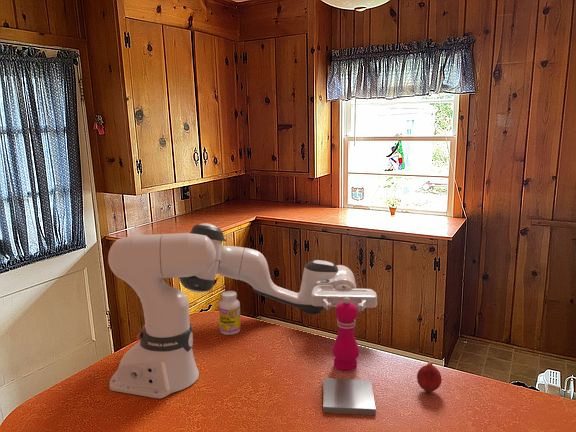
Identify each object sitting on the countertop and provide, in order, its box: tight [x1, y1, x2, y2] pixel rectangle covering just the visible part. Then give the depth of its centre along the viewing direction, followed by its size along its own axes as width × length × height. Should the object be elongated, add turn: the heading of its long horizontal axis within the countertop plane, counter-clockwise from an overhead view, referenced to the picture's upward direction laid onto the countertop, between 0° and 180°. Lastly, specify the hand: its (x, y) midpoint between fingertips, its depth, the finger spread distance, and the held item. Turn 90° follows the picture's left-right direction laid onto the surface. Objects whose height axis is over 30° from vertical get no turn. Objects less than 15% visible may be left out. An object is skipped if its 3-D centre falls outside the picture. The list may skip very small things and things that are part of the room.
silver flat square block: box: [322, 377, 377, 416], centre depth 111 cm, size 12×12×2 cm
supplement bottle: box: [218, 290, 241, 336], centre depth 146 cm, size 7×7×13 cm
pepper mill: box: [331, 297, 360, 373], centre depth 124 cm, size 7×7×20 cm
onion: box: [416, 361, 442, 393], centre depth 113 cm, size 6×6×8 cm
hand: (344, 308), depth 135 cm, fingers open, 8 cm apart
